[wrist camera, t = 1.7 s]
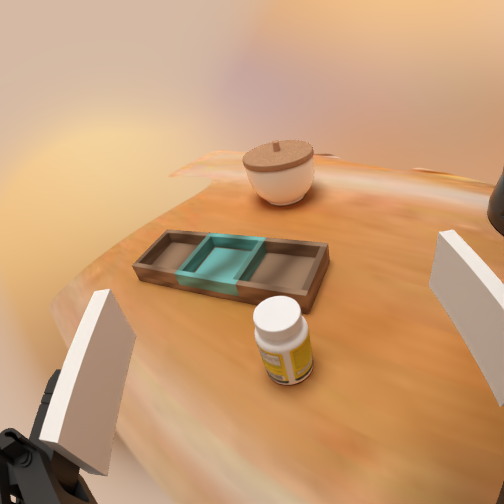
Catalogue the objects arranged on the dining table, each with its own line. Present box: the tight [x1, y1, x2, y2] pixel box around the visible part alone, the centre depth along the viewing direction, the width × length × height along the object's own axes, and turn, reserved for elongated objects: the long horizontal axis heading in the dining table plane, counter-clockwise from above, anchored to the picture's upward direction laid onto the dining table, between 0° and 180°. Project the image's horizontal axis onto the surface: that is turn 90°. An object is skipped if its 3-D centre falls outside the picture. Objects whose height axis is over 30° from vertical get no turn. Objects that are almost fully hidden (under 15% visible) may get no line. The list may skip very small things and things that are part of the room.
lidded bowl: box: [243, 140, 314, 206], centre depth 56 cm, size 13×13×11 cm
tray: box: [132, 230, 329, 314], centre depth 44 cm, size 27×10×3 cm, turn 65°
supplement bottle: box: [253, 296, 313, 385], centre depth 28 cm, size 5×5×8 cm
